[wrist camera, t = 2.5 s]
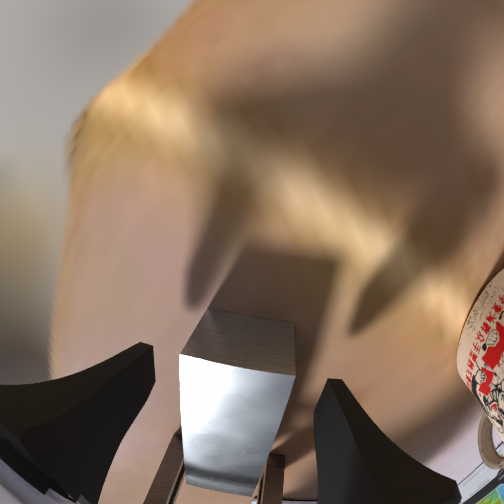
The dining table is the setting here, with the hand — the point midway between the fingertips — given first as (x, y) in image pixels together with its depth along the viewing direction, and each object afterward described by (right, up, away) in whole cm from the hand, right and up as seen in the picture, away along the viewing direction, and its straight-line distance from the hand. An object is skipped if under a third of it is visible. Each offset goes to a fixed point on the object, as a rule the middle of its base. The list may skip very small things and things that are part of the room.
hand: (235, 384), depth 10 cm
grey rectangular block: (0, -3, +4) cm, 5 cm away
